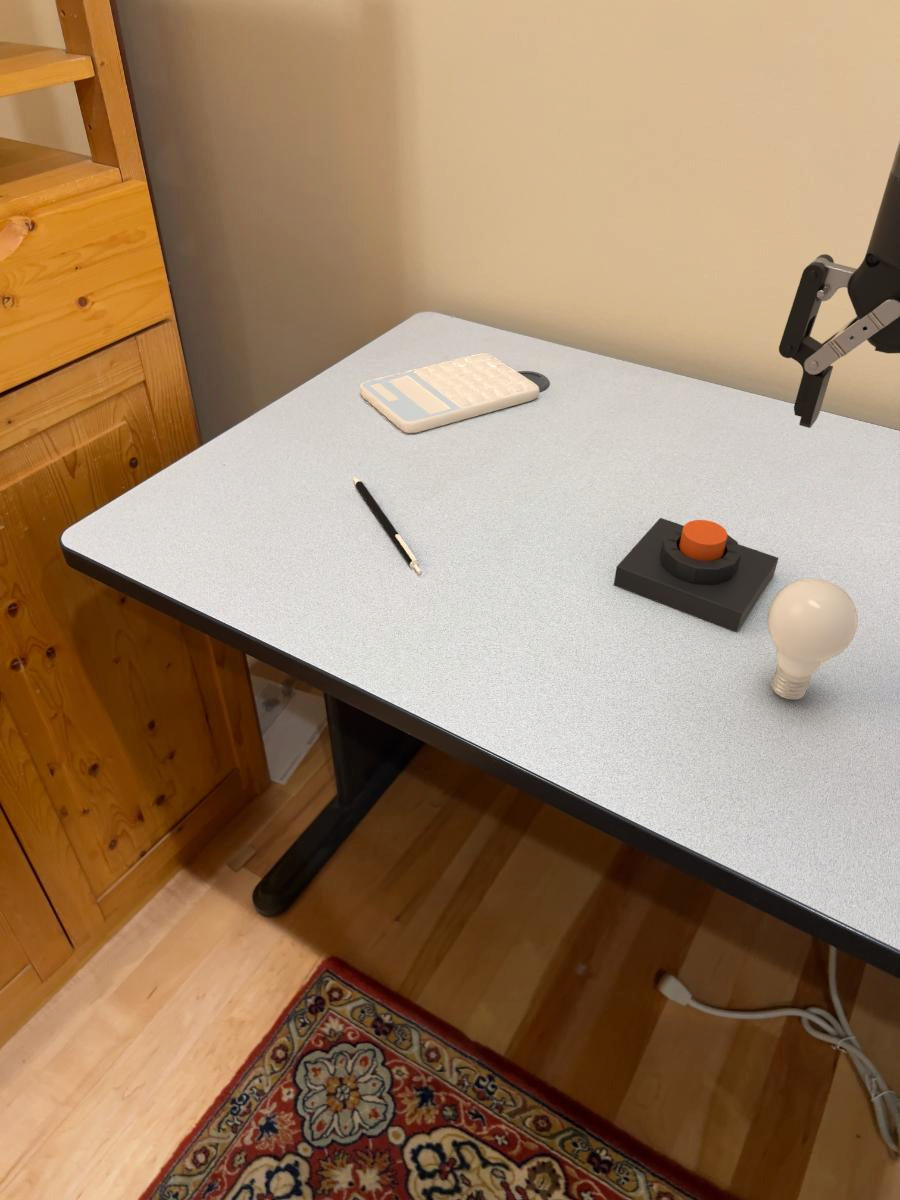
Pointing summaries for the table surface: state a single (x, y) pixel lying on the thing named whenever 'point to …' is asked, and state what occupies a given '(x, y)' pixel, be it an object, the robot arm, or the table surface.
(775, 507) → the table surface
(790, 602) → the lightbulb
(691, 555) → the button
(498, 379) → the calculator
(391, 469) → the table surface
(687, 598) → the housing
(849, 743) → the table surface
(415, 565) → the pen
